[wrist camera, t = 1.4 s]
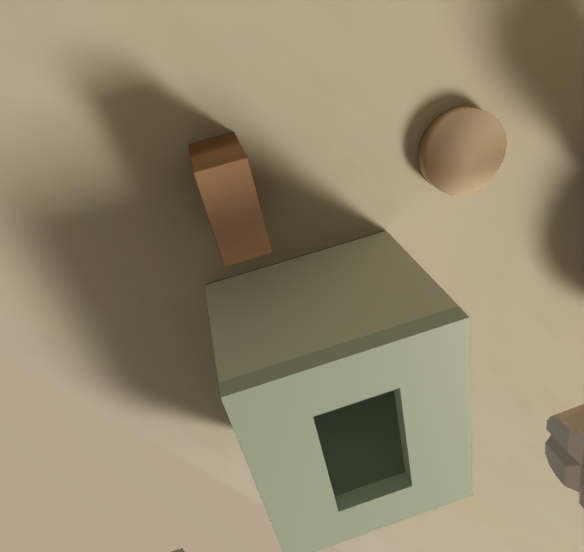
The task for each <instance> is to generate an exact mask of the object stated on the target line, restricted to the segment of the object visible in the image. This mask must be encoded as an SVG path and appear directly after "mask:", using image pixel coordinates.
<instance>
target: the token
mask: <svg viewBox="0 0 584 552" xmlns="http://www.w3.org/2000/svg"><path fill="white" fill-rule="evenodd" d="M189 151H190V156H191V162H192V167H193V173H194V176H195V179H196V182H197V185H198V188H199V191H200V194H201V197H202V200H203V203H204V206H205V209H206V212H207V215H208V218H209V221H210V224H211V227H212V230H213V233H214V236H215V240H216V243H217V246H218V249H219V252H220V255H221V258H222V261H223V264H224V267H226V266H230V265H233V264H236V263H240V262H243V261H246V260H250V259H253V258H256V257H260V256H263V255H267V254H270V253H273V252H272V248H271V245H270V241H269V237H268V233H267V229H266V226H265V222H264V218H263V214H262V211H261V207H260V203H259V199H258V195H257V192H256V188H255V184H254V180H253V177H252V173H251V169H250V165H249V161H248V158H247V156H246V154H245V152H244V150H243V148H242V146H241V145H240V143H239V141H238V139H237V137H236V135H235V133H234V132H232V133H229V134H225V135H221V136H218V137H214V138H211V139H207V140H203V141H200V142H196V143H192V144H189Z"/></svg>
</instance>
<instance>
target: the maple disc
mask: <svg viewBox="0 0 584 552" xmlns="http://www.w3.org/2000/svg"><path fill="white" fill-rule="evenodd" d="M505 151H506V134H505V130H504V127H503V125H502V124H501V122H500V121H499V120H498V119H497V118H496V117H495V116H494V115H492V114H490V113H488V112H486V111H483V110H480V109H477V108H474V107H469V106H461V107H456V108H453V109H450V110H448V111H446V112H444V113H443V114H441V115H440V116H439V117H437V118H436V119H435V120H434V121H433V122H432V123H431V125H430V126H429V127H428V128H427V130H426V132H425V133H424V135H423V137H422V140H421V143H420V146H419V151H418V163H419V168H420V171H421V173H422V175H423V177H424V178H425V179H426V180H427V181H428V182H429V183H430V184H431V185H433V186H434V187H436V188H437V189H439V190H440V191H442V192H444V193H446V194H449V195H456V196H459V195H466V194H469V193H472V192H474V191H476V190H478V189H480V188H481V187H483V186H484V185H485V184H486V183H488V182H489V181H490V180H491V179H492V177H493V176H494V175H495V174H496V172H497V171H498V169H499V167H500V166H501V163H502V161H503V159H504V155H505Z"/></svg>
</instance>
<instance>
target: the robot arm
mask: <svg viewBox="0 0 584 552" xmlns="http://www.w3.org/2000/svg"><path fill="white" fill-rule="evenodd" d="M546 429H547V430H548V431H549V432H550V433H551V436H550V437H549V439H548V440H547V441H546V443H545V454H546V456H547V459H548V462H549V465H550V467H551V468H552V470H553V472H554V473H555V475H556V476H557V477H558V479H559V480H560V481H561V482H562V483H563V485H564V486H566V487H569V488H571V489H573V490H575V491H577V492H578V493H579V504H580V505H581V506H582V507H583V508H584V404H583V405H580V406H577V407H575V408H572V409H569V410H567V411H564V412H561V413H559V414H556V415H553V416H551V417H550V418H549V419H548V420H547V428H546ZM172 552H184V550H183V549H182V548H181V549H178V550H175V551H172Z"/></svg>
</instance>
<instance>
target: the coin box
mask: <svg viewBox="0 0 584 552" xmlns="http://www.w3.org/2000/svg"><path fill="white" fill-rule="evenodd" d="M204 287H205V294H206V300H207V307H208V314H209V321H210V328H211V335H212V342H213V349H214V356H215V363H216V369H217V376H218V383H219V390H220V397H221V400H222V402H223V405H224V407H225V410H226V412H227V415H228V417H229V420H230V422H231V425H232V427H233V430H234V432H235V435H236V437H237V440H238V442H239V445H240V447H241V450H242V452H243V455H244V457H245V460H246V462H247V465H248V467H249V469H250V472H251V474H252V477H253V479H254V482H255V484H256V487H257V489H258V492H259V494H260V497H261V499H262V502H263V504H264V507H265V509H266V511H267V514H268V517H269V519H270V522H271V524H272V526H273V529H274V532H275V534H276V536H277V539H278V541H279V544H280V546H281V549H282V551H283V552H316V551H319V550H321V549H324V548H327V547H330V546H333V545H335V544H338V543H341V542H344V541H347V540H349V539H352V538H355V537H358V536H361V535H363V534H366V533H369V532H372V531H375V530H377V529H380V528H383V527H386V526H389V525H391V524H394V523H397V522H400V521H403V520H405V519H408V518H411V517H414V516H417V515H419V514H422V513H425V512H428V511H431V510H433V509H436V508H439V507H442V506H445V505H447V504H450V503H453V502H456V501H458V500H461V499H464V498H467V497H470V496H472V495H473V481H472V426H471V371H470V317H469V316H468V315H467V314H466V313H465V312H464V311H463V310H462V309H461V308H460V307H459V306H458V305H457V304H456V303H455V302H454V301H453V300H452V299H451V298H450V296H449V295H448V294H447V293H446V292H445V291H444V290H443V289H442V288H441V287H440V286H439V285H438V284H437V283H436V282H435V281H434V280H433V279H432V278H431V277H430V276H429V275H428V274H427V273H426V271H425V270H424V269H423V268H422V267H421V266H420V265H419V264H418V263H417V262H416V261H415V260H414V259H413V258H412V257H411V256H410V255H409V254H408V253H407V252H406V251H405V250H404V249H403V248H402V246H401V245H400V244H399V243H398V242H397V241H396V240H395V239H394V238H393V237H392V236H391V235H390V234H389V233H388V232H387V231H384V232H380V233H377V234H374V235H370V236H367V237H364V238H360V239H357V240H354V241H351V242H347V243H344V244H341V245H337V246H334V247H331V248H327V249H324V250H321V251H317V252H314V253H311V254H307V255H304V256H301V257H297V258H294V259H291V260H288V261H284V262H281V263H278V264H274V265H271V266H268V267H264V268H261V269H258V270H254V271H251V272H248V273H244V274H241V275H238V276H234V277H231V278H228V279H225V280H221V281H218V282H215V283H211V284H208V285H205V286H204Z"/></svg>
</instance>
